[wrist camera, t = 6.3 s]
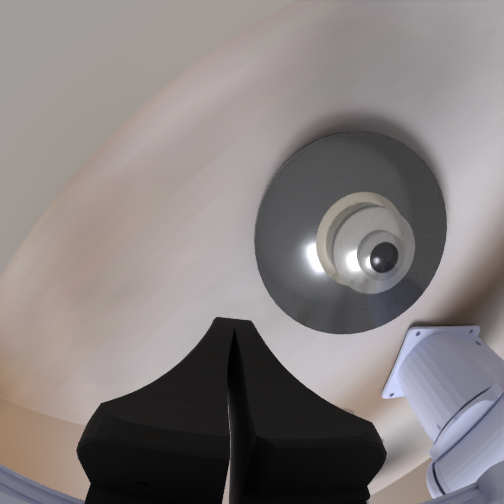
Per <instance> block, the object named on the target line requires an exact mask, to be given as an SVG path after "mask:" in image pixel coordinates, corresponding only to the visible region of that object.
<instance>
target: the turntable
mask: <svg viewBox="0 0 504 504" xmlns="http://www.w3.org/2000/svg"><path fill="white" fill-rule="evenodd" d="M360 202H371V203H375V204H378V205H380V206H383V207H385V208H387V209H390V210H392V211H394V212H397V213H398V214H400V215H401V216H402V217H404V218H405V219H406V221H407V222H408V223H409V225H410V226H411V229H412V231H413V234H414V239H415V253H414V258H413V261H412V264H411V266H410V268H409V270H408V272H407V273H406V274H405V276H404V277H403V278H402V279H401V280H400V281H399V282H398V283H397V284H396V285H395V286H393V287H392V288H390V289H388V290H386V291H383V292H380V293H375V294H365V293H361V292H358V291H356V290H354V289H352V288H351V287H349V286H348V285H347V284H346V283H345V281H344V280H343V279H342V278H341V276H340V275H339V274H338V273H337V271H336V270H335V269H334V268H333V266H332V265H331V263H330V261H329V259H328V256H327V253H326V236H327V232H328V230H329V227H330V225H331V223H332V221H333V220H334V219H335V217H336V216H337V215H338V214H339V213H340V212H341V211H342V210H344V209H345V208H347V207H348V206H350V205H353V204H356V203H360ZM446 231H447V220H446V210H445V204H444V200H443V196H442V193H441V190H440V188H439V185H438V183H437V181H436V179H435V177H434V175H433V174H432V172H431V170H430V169H429V167H428V166H427V165H426V164H425V162H424V161H423V160H422V159H421V158H420V157H419V156H418V155H417V154H416V153H415V152H414V151H412V150H411V149H410V148H408V147H407V146H406V145H404V144H402V143H401V142H399V141H397V140H395V139H393V138H390V137H387V136H384V135H381V134H377V133H371V132H346V133H339V134H334V135H331V136H327V137H324V138H321V139H319V140H317V141H315V142H312V143H310V144H309V145H307V146H306V147H304V148H302V149H301V150H299V151H298V152H297V153H296V154H294V155H293V156H292V157H291V158H290V159H288V160H287V161H286V163H285V164H284V165H283V166H282V167H281V168H280V169H279V170H278V171H277V173H276V174H275V176H274V177H273V179H272V180H271V182H270V183H269V185H268V187H267V189H266V191H265V193H264V195H263V197H262V200H261V203H260V206H259V209H258V213H257V218H256V223H255V234H254V244H255V255H256V260H257V265H258V269H259V272H260V275H261V278H262V281H263V283H264V285H265V287H266V289H267V291H268V293H269V294H270V296H271V297H272V299H273V300H274V301H275V303H276V304H277V305H278V306H279V307H280V308H281V309H282V310H283V311H284V312H285V313H286V314H287V315H288V316H290V317H291V318H292V319H294V320H295V321H297V322H299V323H300V324H302V325H304V326H306V327H309V328H311V329H314V330H317V331H321V332H325V333H331V334H354V333H360V332H365V331H368V330H372V329H375V328H377V327H380V326H382V325H384V324H386V323H388V322H390V321H392V320H393V319H395V318H397V317H398V316H399V315H401V314H402V313H404V312H405V311H406V310H407V309H408V308H410V307H411V306H412V305H413V304H414V303H415V302H416V301H417V300H418V298H419V297H420V296H421V295H422V294H423V292H424V291H425V290H426V288H427V287H428V286H429V284H430V282H431V280H432V279H433V277H434V275H435V273H436V271H437V269H438V266H439V264H440V261H441V258H442V255H443V251H444V246H445V241H446Z"/></svg>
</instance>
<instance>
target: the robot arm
mask: <svg viewBox="0 0 504 504" xmlns="http://www.w3.org/2000/svg"><path fill="white" fill-rule="evenodd" d="M480 330H481V328H480V327H479V326H478V325H473V326H434V327H411V328H410V329H409V330H408V332H407V335H406V337H405V340H404V343H403V345H402V348H401V350H400V353H399V355H398V358H397V360H396V363H395V365H394V367H393V370H392V372H391V374H390V376H389V379H388V381H387V383H386V385H385V388H384V390H383V392H382V397H383V398H384V399H387V398H397V397H405V398H406V399H407V401H408V402H409V404H410V406H411V407H412V409H413V411H414V412H415V414H416V416H417V418H418V419H419V421H420V423H421V424H422V426H423V428H424V429H425V431H426V433H427V435H428V436H429V438H430V440H431V442H432V443H433V445H434V446H433V447H432V448H431V449H430V450H429V454H430V456H431V458H432V460H433V461H432V462H431V463H430V464H429V465H428V468H427V486H428V489H429V492H430V494H431V496H432V498H433V499H432V500H429V501H426V502H423V503H420V504H504V360H503V359H502V358H501V357H499V356H498V355H497V354H496V353H495V352H494V351H493V350H492V349H491V348H490V347H489V346H488V345H487V344H486V343H485V342H484V341H483V340H481V339H480V338H479V337H478V335H479V333H480ZM418 331H419V332H418ZM417 332H418V333H417ZM416 333H417V334H416ZM228 407H229V417H228ZM229 420H230V430H229ZM230 432H231V457H230ZM77 455H78V459H79V461H80V463H81V464H82V467H83V469H84V471H85V473H86V475H87V477H88V479H89V481H90V483H91V485H90V488H89V491H88V494H87V497H86V500H85V501H84V500H81V499H78V498H75V497H72V496H69V495H67V494H64V493H62V492H59V491H56V490H54V489H52V488H49V487H47V486H45V485H42V484H40V483H38V482H35V481H33V480H31V479H29V478H27V477H25V476H23V475H21V474H19V473H16V472H15V471H13V470H11V469H9V468H7V467H5V466H3V465H1V464H0V504H222V500H223V494H224V489H225V483H226V477H227V472H228V466H229V460H230V491H229V504H367V501H366V500H368V499H369V498H370V493H369V490H368V487H367V486H368V484H369V483H370V482H371V481H372V479H373V478H374V477H375V476H376V474H377V473H378V472H379V470H380V469H381V468H382V466H383V464H384V462H385V460H386V455H387V452H386V450H385V448H384V445H383V443H382V440H381V438H380V436H379V434H378V432H377V430H376V428H375V427H374V425H373V423H372V422H369V421H367V420H365V419H362V418H360V417H357V416H355V415H353V414H350V413H348V412H346V411H344V410H342V409H340V408H338V407H337V406H335V405H333V404H331V403H329V402H328V401H326V400H324V399H323V398H321V397H320V396H318V395H317V394H315V393H314V392H313V391H311V390H310V389H308V388H307V387H306V386H305V385H303V384H302V383H301V382H300V381H298V380H297V379H296V378H295V377H294V376H293V375H292V374H291V373H290V372H289V371H288V370H287V369H286V368H285V367H284V366H283V365H282V364H281V363H280V362H279V361H278V359H277V358H276V357H275V356H274V354H273V353H272V352H271V350H270V349H269V348H268V346H267V345H266V344H265V342H264V341H263V339H262V337H261V336H260V334H259V333H258V331H257V329H256V328H255V326H254V324H253V323H252V321H250V320H240V319H231V318H222V317H216V318H215V319H214V320H213V323H212V325H211V326H210V328H209V330H208V331H207V333H206V334H205V335H204V337H203V338H202V339H201V340H200V342H199V343H198V344H197V345H196V347H195V348H194V349H193V350H192V351H191V352H190V353H189V354H188V355H187V356H186V357H185V358H184V359H183V360H182V361H181V362H180V363H178V364H177V365H176V366H175V367H174V368H172V369H171V370H170V371H168V372H167V373H166V374H164V375H163V376H161V377H160V378H158V379H157V380H155V381H154V382H152V383H150V384H148V385H147V386H145V387H143V388H141V389H139V390H137V391H134V392H132V393H130V394H127V395H125V396H122V397H119V398H116V399H113V400H110V401H107V402H104V403H101V404H100V406H99V407H98V408H97V410H96V411H95V413H94V414H93V416H92V417H91V419H90V420H89V422H88V423H87V425H86V428H85V430H84V432H83V434H82V437H81V439H80V441H79V443H78V447H77Z"/></svg>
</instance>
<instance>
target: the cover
mask: <svg viewBox="0 0 504 504" xmlns="http://www.w3.org/2000/svg"><path fill="white" fill-rule="evenodd" d="M326 253H327V256H328V259H329V261H330V263H331V265H332V266H333V268H334V269H335V270H336V271H337V273H338V274H339V275H340V276H341V278H342V279H343V280H344V281H345V283H346V284H347V285H348V286H349V287H351V288H352V289H354V290H356V291H358V292H361V293H365V294H375V293H380V292H383V291H386V290H388V289H390V288H392V287H393V286H395V285H396V284H397V283H398V282H399V281H400V280H401V279H402V278H403V277H404V276H405V274H406V273H407V272H408V270H409V268H410V266H411V264H412V261H413V258H414V253H415V239H414V234H413V231H412V229H411V226H410V225H409V223H408V222H407V221H406V219H405V218H404V217H402V216H401V215H400V214H398V213H397V212H394V211H392V210H390V209H387V208H385V207H383V206H380V205H378V204H375V203H371V202H360V203H356V204H353V205H350V206H348V207H347V208H345V209H344V210H342V211H341V212H340V213H339V214H338V215H337V216H336V217H335V219H334V220H333V221H332V223H331V225H330V227H329V230H328V232H327V236H326Z"/></svg>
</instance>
